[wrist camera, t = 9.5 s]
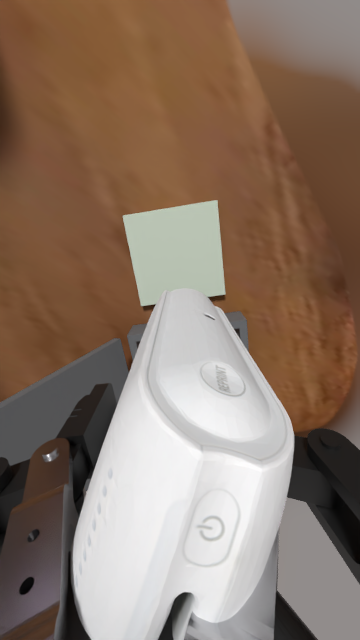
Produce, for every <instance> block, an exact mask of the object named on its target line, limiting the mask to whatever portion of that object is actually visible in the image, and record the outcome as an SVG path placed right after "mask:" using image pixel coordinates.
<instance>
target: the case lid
mask: <svg viewBox="0 0 360 640" xmlns="http://www.w3.org/2000/svg"><path fill="white" fill-rule="evenodd" d="M128 374H129V372H128V368H127V364H126V360H125V356H124V352H123V348H122V344H121V340H120V339H118V338H114V339H112V340H111V341H109V342H107V343H105V344H104V345H102V346H100V347H98V348H96V349H95V350H93V351H91V352H89V353H88V354H86V355H84V356H82V357H80V358H79V359H77V360H75V361H73V362H72V363H70V364H68V365H66V366H64V367H63V368H61V369H59V370H57V371H55V372H54V373H52V374H50V375H48V376H47V377H45V378H43V379H41V380H39V381H38V382H36V383H34V384H32V385H31V386H29V387H27V388H25V389H23V390H22V391H20V392H18V393H16V394H15V395H13V396H11V397H9V398H7V399H6V400H4V401H2V402H0V457H4V458H6V459H7V460H8V462H9V464H10V466H11V465H14V464H17V463H20V462H22V461H25V460H28V459H31V457H32V455H33V453H34V452H35V451H36V450H37V449H38V448H39V447H40V446H41V445H42V444H44V443H46V442H48V441H50V440H52V439H55V438H56V437H57V435H58V433H59V432H60V430H61V428H62V427H63V425H64V424H65V422H66V420H67V419H68V417H69V416H70V414H71V412H72V411H73V409H74V408H75V406H76V404H77V403H78V401H80V400H81V399H82V398H83V397H84V396H85V395H90V393H91V391H92V390H93V388H94V386H95V385H96V384H104V383H111V384H112V386H113V390H114V394H115V398H116V402H117V404H118V401H119V399H120V396H121V393H122V390H123V388H124V385H125V382H126V380H127V377H128ZM90 481H91V479H87V481H86V483H85V486H84V487H85V490H86V491H87V490H88V487H89V484H90Z"/></svg>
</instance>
